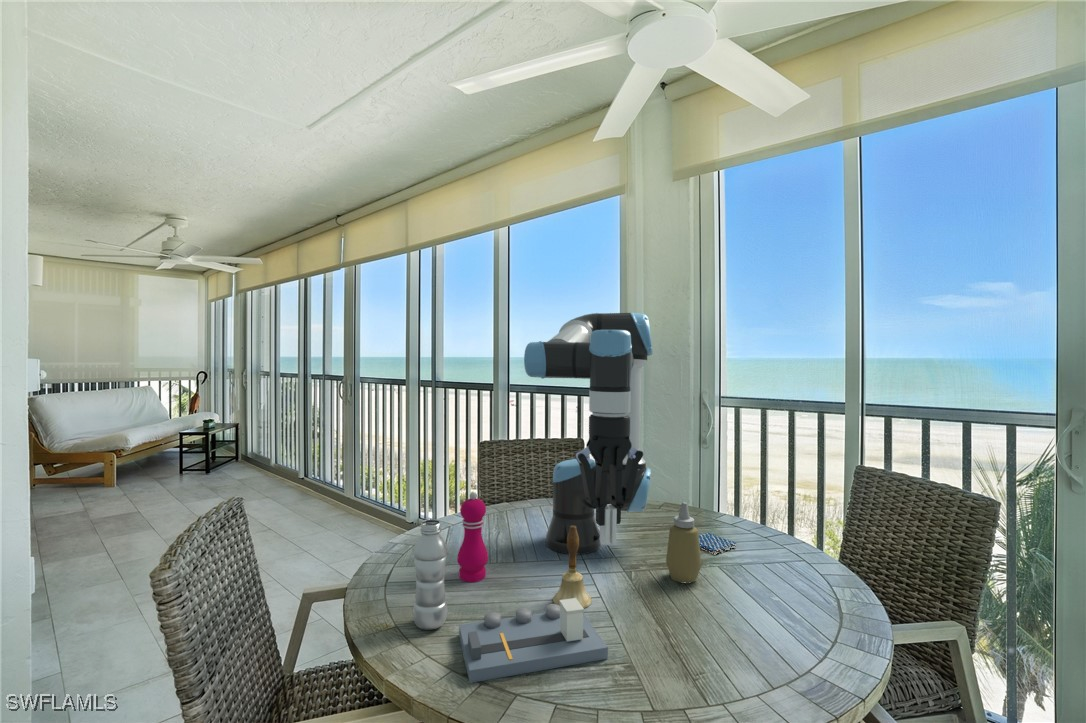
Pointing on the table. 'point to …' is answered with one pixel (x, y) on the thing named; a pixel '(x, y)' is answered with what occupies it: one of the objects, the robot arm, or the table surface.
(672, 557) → the squeeze bottle
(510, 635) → the console board
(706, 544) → the woven mat
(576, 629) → the fader tab
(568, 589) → the hand bell
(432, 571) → the plastic bottle
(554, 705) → the table surface
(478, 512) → the pepper mill
